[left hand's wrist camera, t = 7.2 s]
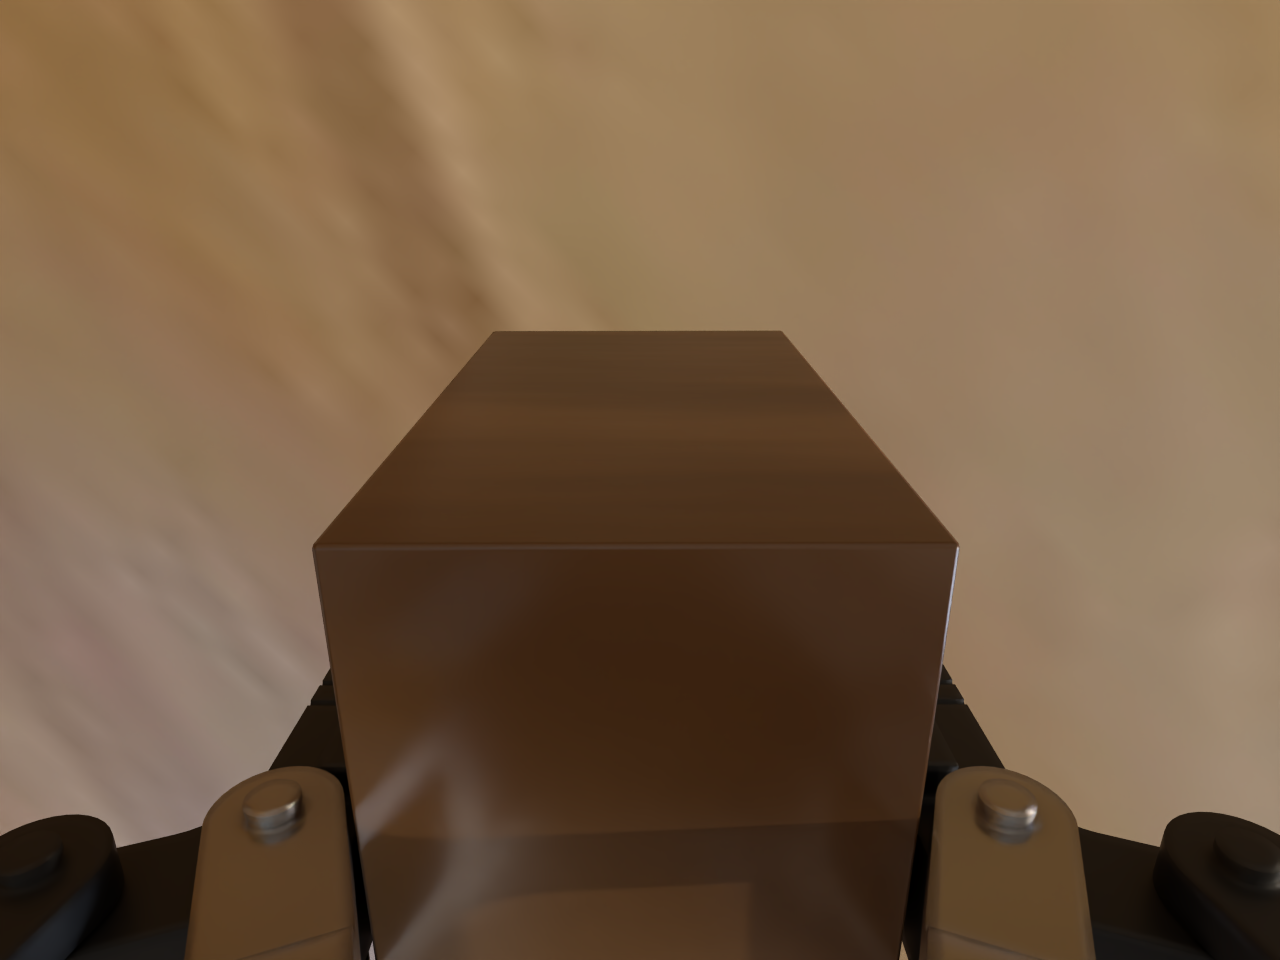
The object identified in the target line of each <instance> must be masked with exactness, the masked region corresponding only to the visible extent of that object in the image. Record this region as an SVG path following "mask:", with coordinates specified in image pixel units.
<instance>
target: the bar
mask: <svg viewBox="0 0 1280 960" xmlns="http://www.w3.org/2000/svg"><path fill="white" fill-rule="evenodd" d="M959 548H960V547H959V544H958V542H957V541H956V540H955V539H954V537H953V536H952V535H951V534H950V533H949V531H948V530H947V529H946V528H945V527H944V525H943V524H942V523H941V522H940V521H939V519H938V518H937V517H936V516H935V515H934V513H933V512H932V511H931V510H930V509H929V507H928V506H927V505H926V504H925V503H924V501H923V500H922V499H921V498H920V497H919V495H918V494H917V493H916V492H915V491H914V489H913V488H912V487H911V486H910V485H909V483H908V482H907V481H906V480H905V479H904V477H903V476H902V475H901V474H900V472H899V471H898V470H897V469H896V468H895V466H894V465H893V464H892V463H891V462H890V460H889V459H888V458H887V457H886V456H885V454H884V453H883V452H882V451H881V450H880V448H879V447H878V446H877V445H876V444H875V442H874V441H873V440H872V439H871V438H870V436H869V435H868V434H867V433H866V432H865V430H864V429H863V428H862V427H861V426H860V424H859V423H858V422H857V421H856V420H855V418H854V417H853V416H852V415H851V414H850V412H849V411H848V410H847V409H846V408H845V406H844V405H843V404H842V403H841V402H840V400H839V399H838V398H837V397H836V396H835V394H834V393H833V392H832V391H831V390H830V388H829V387H828V386H827V385H826V384H825V382H824V381H823V380H822V379H821V378H820V376H819V375H818V374H817V373H816V372H815V370H814V369H813V368H812V367H811V366H810V364H809V363H808V362H807V361H806V360H805V358H804V357H803V356H802V355H801V354H800V352H799V351H798V350H797V349H796V348H795V346H794V345H793V344H792V343H791V342H790V340H789V339H788V338H787V337H786V336H785V334H784V333H783V332H782V331H495V332H493V333H492V334H491V335H490V337H489V338H488V339H487V340H486V341H485V343H484V344H483V345H482V346H481V347H480V348H479V350H478V351H477V352H476V353H475V354H474V356H473V357H472V358H471V359H470V360H469V361H468V363H467V364H466V365H465V366H464V367H463V368H462V370H461V371H460V372H459V373H458V374H457V376H456V377H455V378H454V379H453V380H452V381H451V383H450V384H449V385H448V386H447V387H446V389H445V390H444V391H443V392H442V393H441V394H440V396H439V397H438V398H437V399H436V400H435V401H434V403H433V404H432V405H431V406H430V407H429V409H428V410H427V411H426V412H425V413H424V414H423V416H422V417H421V418H420V419H419V420H418V422H417V423H416V424H415V425H414V426H413V427H412V429H411V430H410V431H409V432H408V433H407V435H406V436H405V437H404V438H403V439H402V440H401V442H400V443H399V444H398V445H397V446H396V447H395V449H394V450H393V451H392V452H391V453H390V455H389V456H388V457H387V458H386V459H385V460H384V462H383V463H382V464H381V465H380V466H379V468H378V469H377V470H376V471H375V472H374V473H373V475H372V476H371V477H370V478H369V479H368V481H367V482H366V483H365V484H364V485H363V486H362V488H361V489H360V490H359V491H358V492H357V493H356V495H355V496H354V497H353V498H352V499H351V501H350V502H349V503H348V504H347V505H346V506H345V508H344V509H343V510H342V511H341V512H340V514H339V515H338V516H337V517H336V518H335V519H334V521H333V522H332V523H331V524H330V525H329V526H328V528H327V529H326V530H325V531H324V532H323V534H322V535H321V536H320V537H319V538H318V539H317V541H316V542H315V543H314V544H313V547H312V551H313V557H314V564H315V570H316V577H317V583H318V590H319V596H320V603H321V609H322V616H323V622H324V629H325V635H326V642H327V648H328V655H329V661H330V668H331V674H332V681H333V687H334V694H335V700H336V707H337V713H338V720H339V726H340V733H341V739H342V746H343V752H344V759H345V765H346V772H347V778H348V785H349V791H350V798H351V804H352V810H353V817H354V823H355V830H356V836H357V843H358V849H359V856H360V862H361V869H362V875H363V882H364V888H365V895H366V901H367V908H368V914H369V921H370V927H371V934H372V940H373V947H374V953H375V960H899V957H900V950H901V943H902V937H903V930H904V923H905V916H906V909H907V902H908V896H909V889H910V882H911V875H912V868H913V862H914V855H915V848H916V841H917V834H918V827H919V821H920V814H921V807H922V800H923V793H924V787H925V780H926V773H927V766H928V759H929V752H930V746H931V739H932V732H933V725H934V718H935V712H936V705H937V698H938V691H939V684H940V677H941V671H942V664H943V657H944V650H945V643H946V637H947V630H948V623H949V616H950V609H951V602H952V596H953V589H954V582H955V575H956V568H957V562H958V555H959Z"/></svg>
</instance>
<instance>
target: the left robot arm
mask: <svg viewBox="0 0 1280 960" xmlns="http://www.w3.org/2000/svg"><path fill="white" fill-rule="evenodd" d="M902 942H903V945H904V948H905V951H906V954H907V957H908V960H1280V835H1279V834H1277V833H1275V832H1273V831H1271V830H1269V829H1267V828H1265V827H1262V826H1260V825H1257V824H1255V823H1253V822H1250V821H1247V820H1244V819H1241V818H1238V817H1234V816H1230V815H1225V814H1220V813H1212V812H1193V813H1187V814H1183V815H1180V816H1178V817H1176V818H1174V819H1172V820H1171V821H1170V822H1169V823H1168V825H1167V826H1166V829H1165V831H1164V834H1163V838H1162V841H1161V845H1160V847H1157V846H1152V845H1148V844H1144V843H1139V842H1135V841H1131V840H1126V839H1122V838H1118V837H1113V836H1109V835H1105V834H1100V833H1096V832H1093V831H1089V830H1086V829H1082V828H1080V827H1078V825H1077V821H1076V819H1075V817H1074V815H1073V813H1072V811H1071V810H1070V808H1069V807H1068V806H1067V804H1066V803H1065V802H1064V801H1063V800H1062V799H1061V798H1060V797H1059V796H1058V795H1057V794H1055V793H1054V792H1053V791H1052V790H1050V789H1049V788H1047V787H1046V786H1044V785H1043V784H1041V783H1039V782H1038V781H1036V780H1034V779H1032V778H1030V777H1028V776H1025V775H1022V774H1020V773H1017V772H1014V771H1010V770H1007V769H1005V768H1004V766H1003V764H1002V763H1001V761H1000V759H999V758H998V756H997V754H996V753H995V751H994V749H993V747H992V746H991V744H990V742H989V741H988V739H987V737H986V736H985V734H984V732H983V731H982V729H981V727H980V726H979V724H978V722H977V721H976V719H975V717H974V716H973V714H972V712H971V711H970V709H969V707H968V706H967V704H964V699H963V697H962V695H961V694H960V692H959V690H958V689H957V687H956V685H955V684H952V679H951V677H950V675H949V674H948V672H947V670H946V669H945V667H944V665H943V664H942V671H941V677H940V684H939V691H938V698H937V705H936V712H935V718H934V725H933V732H932V739H931V746H930V752H929V759H928V766H927V773H926V780H925V787H924V793H923V800H922V807H921V814H920V821H919V827H918V834H917V841H916V848H915V855H914V862H913V868H912V875H911V882H910V889H909V896H908V902H907V909H906V916H905V923H904V930H903V937H902ZM371 943H372V934H371V927H370V921H369V914H368V908H367V901H366V895H365V888H364V882H363V875H362V869H361V862H360V856H359V849H358V843H357V836H356V830H355V823H354V817H353V810H352V804H351V798H350V791H349V785H348V778H347V772H346V765H345V759H344V752H343V746H342V739H341V733H340V726H339V720H338V713H337V707H336V700H335V694H334V687H333V681H332V674H331V668H330V670H329V671H328V673H327V674H326V676H325V678H324V679H323V685H320V686H319V688H318V689H317V691H316V693H315V694H314V696H313V698H312V699H311V705H310V706H307V708H306V709H305V711H304V713H303V714H302V716H301V718H300V719H299V721H298V722H297V724H296V726H295V727H294V729H293V731H292V732H291V734H290V736H289V737H288V739H287V741H286V742H285V744H284V746H283V747H282V749H281V751H280V752H279V754H278V756H277V757H276V759H275V761H274V762H273V764H272V766H271V767H270V769H269V770H268V771H266V772H263V773H260V774H258V775H255V776H252V777H250V778H248V779H246V780H244V781H242V782H241V783H239V784H237V785H236V786H234V787H233V788H231V789H230V790H228V791H227V792H226V793H225V794H223V795H222V796H221V797H220V798H219V799H218V800H217V801H216V802H215V803H214V804H213V806H212V807H211V808H210V810H209V811H208V813H207V815H206V817H205V819H204V821H203V825H202V826H201V827H198V828H195V829H192V830H190V831H186V832H183V833H179V834H175V835H171V836H167V837H163V838H158V839H154V840H150V841H145V842H141V843H137V844H132V845H128V846H124V847H119V848H116V844H115V841H114V837H113V834H112V831H111V829H110V827H109V826H108V825H107V824H106V823H105V822H103V821H102V820H100V819H98V818H95V817H92V816H87V815H62V816H55V817H50V818H46V819H41V820H38V821H35V822H32V823H29V824H26V825H23V826H21V827H19V828H16V829H14V830H11V831H9V832H7V833H5V834H3V835H2V836H0V960H370V957H369V949H370V946H371Z"/></svg>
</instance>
